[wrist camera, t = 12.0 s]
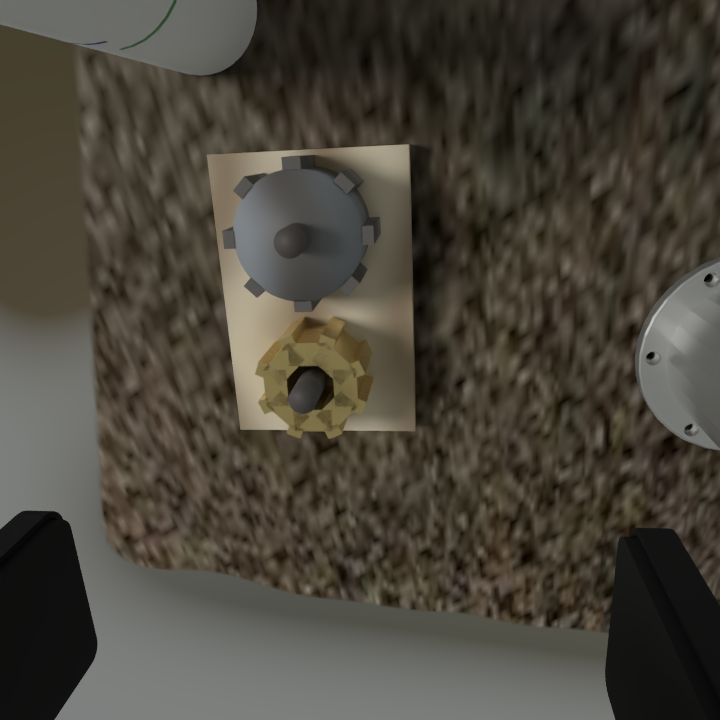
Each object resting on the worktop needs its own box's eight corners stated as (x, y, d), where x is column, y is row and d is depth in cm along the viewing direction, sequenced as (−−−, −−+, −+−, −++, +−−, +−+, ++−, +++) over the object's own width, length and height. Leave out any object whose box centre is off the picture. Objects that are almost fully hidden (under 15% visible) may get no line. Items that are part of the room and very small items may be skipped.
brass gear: (370, 315, 39) (363, 333, 35) (375, 412, 41) (368, 439, 37) (268, 317, 40) (250, 335, 36) (277, 411, 42) (261, 438, 38)
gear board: (409, 144, 37) (402, 144, 30) (416, 423, 42) (411, 476, 36) (213, 154, 38) (165, 157, 31) (245, 422, 44) (210, 473, 37)
